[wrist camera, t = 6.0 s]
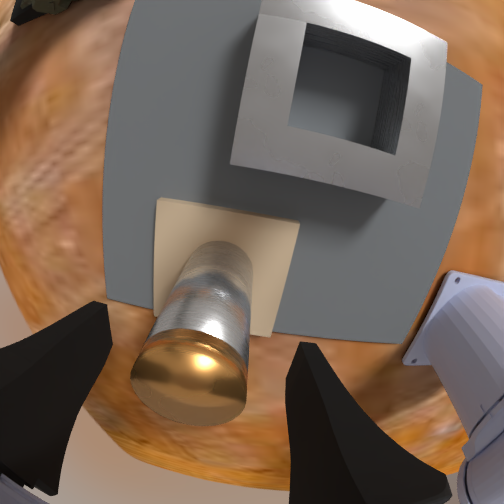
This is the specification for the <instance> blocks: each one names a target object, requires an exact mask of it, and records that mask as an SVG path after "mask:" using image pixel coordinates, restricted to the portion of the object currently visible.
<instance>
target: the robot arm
mask: <svg viewBox="0 0 504 504" xmlns="http://www.w3.org/2000/svg"><path fill="white" fill-rule="evenodd" d="M456 278H457V279H456ZM455 279H456V280H455ZM112 345H113V342H112V336H111V330H110V323H109V316H108V308H107V304H103V303H100V302H96V301H92V302H90V303H88V304H87V305H85V306H83V307H81V308H80V309H78V310H76V311H74V312H73V313H71V314H69V315H68V316H66V317H64V318H62V319H61V320H59V321H57V322H55V323H54V324H52V325H50V326H48V327H46V328H45V329H43V330H41V331H39V332H37V333H35V334H33V335H31V336H29V337H27V338H25V339H23V340H21V341H19V342H16V343H14V344H11V345H9V346H6V347H3V348H0V504H49V503H47V502H45V501H43V500H42V499H40V498H38V497H37V496H35V495H33V494H32V493H30V492H28V491H27V490H25V489H24V488H23V486H24V484H25V485H26V486H28V487H29V488H31V489H33V488H34V487H35V488H37V489H39V490H40V491H42V492H44V493H46V494H47V495H49V496H54V495H57V494H58V487H59V480H60V474H61V468H62V464H63V459H64V455H65V451H66V447H67V444H68V441H69V437H70V434H71V431H72V428H73V426H74V423H75V420H76V417H77V415H78V413H79V411H80V408H81V406H82V404H83V403H84V401H85V399H86V397H87V395H88V394H89V392H90V390H91V388H92V386H93V385H94V383H95V381H96V379H97V377H98V376H99V374H100V372H101V370H102V369H103V367H104V365H105V362H106V360H107V358H108V355H109V353H110V350H111V348H112ZM402 362H403V364H404V365H432V366H433V368H434V370H435V372H436V373H437V375H438V377H439V379H440V381H441V383H442V385H443V386H444V388H445V390H446V392H447V394H448V396H449V398H450V400H451V402H452V404H453V406H454V408H455V410H456V412H457V414H458V416H459V418H460V420H461V422H462V424H463V427H464V429H465V431H466V433H467V435H468V438H469V441H468V442H467V443H466V444H465V445H464V446H463V447H462V450H463V452H464V455H465V457H466V458H465V459H464V461H463V462H462V464H461V466H460V469H459V472H458V477H457V492H458V498H459V502H460V504H504V282H501V281H497V280H493V279H489V278H484V277H480V276H476V275H471V274H467V273H463V272H458V271H454V270H451V271H449V272H448V273H447V274H446V276H445V278H444V280H443V282H442V285H441V287H440V289H439V291H438V293H437V296H436V298H435V300H434V302H433V304H432V306H431V308H430V310H429V312H428V314H427V316H426V318H425V320H424V322H423V324H422V325H421V327H420V329H419V331H418V333H417V335H416V336H415V338H414V340H413V342H412V343H411V345H410V347H409V349H408V350H407V352H406V354H405V355H404V357H403V359H402ZM285 404H286V415H287V424H288V434H289V443H290V455H291V473H290V494H289V504H444V503H445V502H447V501H448V500H449V499H450V498H451V497H452V493H451V490H450V486H449V483H448V480H447V477H446V474H444V473H442V472H440V471H438V470H436V469H435V468H433V467H431V466H429V465H427V464H426V463H424V462H422V461H421V460H419V459H418V458H416V457H415V456H413V455H412V454H410V453H409V452H408V451H406V450H405V449H404V448H402V447H401V446H400V445H398V444H397V443H396V442H395V441H394V440H393V439H391V438H390V437H389V436H388V435H387V434H386V433H385V432H383V431H382V430H381V429H380V428H379V427H378V426H377V425H376V424H375V423H374V422H373V421H372V420H371V418H370V417H369V416H368V415H367V414H366V413H365V412H364V411H363V410H362V409H361V407H360V406H359V405H358V404H357V402H356V401H355V400H354V399H353V397H352V396H351V395H350V393H349V392H348V391H347V389H346V388H345V387H344V385H343V384H342V382H341V381H340V379H339V378H338V377H337V375H336V374H335V372H334V371H333V369H332V367H331V366H330V364H329V363H328V361H327V360H326V358H325V357H324V355H323V353H322V352H321V350H320V349H319V347H318V346H317V344H316V343H308V342H300V343H299V345H298V348H297V351H296V353H295V356H294V359H293V361H292V364H291V366H290V369H289V372H288V374H287V377H286V389H285Z"/></svg>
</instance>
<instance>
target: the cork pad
mask: <svg viewBox="0 0 504 504" xmlns="http://www.w3.org/2000/svg"><path fill="white" fill-rule="evenodd" d="M299 227H300V223H299V221H298V220H293V219H288V218H282V217H277V216H272V215H266V214H261V213H255V212H250V211H244V210H238V209H232V208H226V207H220V206H214V205H208V204H202V203H196V202H189V201H183V200H176V199H169V198H162V197H161V198H159V199H158V200H157V206H156V221H155V242H154V316H156V317H158V316H159V314H160V312H161V310H162V308H163V306H164V304H165V302H166V300H167V299H168V297H169V295H170V293H171V291H172V289H173V287H174V285H175V284H176V282H177V280H178V278H179V276H180V274H181V273H182V271H183V269H184V267H185V265H186V263H187V262H188V260H189V258H190V256H191V255H192V253H193V252H194V251H195V250H196V249H197V248H198V247H199V246H201V245H202V244H204V243H207V242H210V241H226V242H230V243H232V244H235V245H236V246H238V247H240V248H241V249H242V250H243V251H244V252H245V253H246V254H247V255H248V257H249V259H250V260H251V263H252V266H253V286H252V305H251V323H250V334H251V335H257V336H264V337H271V333H272V330H273V326H274V323H275V319H276V315H277V312H278V308H279V305H280V301H281V297H282V293H283V290H284V286H285V282H286V278H287V275H288V271H289V267H290V263H291V259H292V255H293V251H294V247H295V243H296V239H297V235H298V231H299Z"/></svg>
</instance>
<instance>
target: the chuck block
mask: <svg viewBox="0 0 504 504" xmlns="http://www.w3.org/2000/svg"><path fill="white" fill-rule="evenodd" d="M303 45H304V46H308V47H312V48H316V49H320V50H324V51H328V52H332V53H335V54H339V55H342V56H345V57H348V58H352V59H355V60H358V61H361V62H364V63H367V64H369V65H372V66H375V67H378V68H380V69H383V70H384V73H383V79H382V86H381V92H380V98H379V104H378V109H377V115H376V120H375V125H374V130H373V135H372V140H371V145H370V147H368V146H364V145H361V144H358V143H354V142H351V141H347V140H344V139H340V138H336V137H333V136H329V135H325V134H321V133H317V132H313V131H308V130H304V129H300V128H295V127H290V126H287V125H288V120H289V114H290V109H291V104H292V99H293V94H294V88H295V83H296V78H297V73H298V67H299V62H300V57H301V51H302V46H303ZM446 61H447V42H445V41H444V40H442V39H440V38H438V37H437V36H435V35H433V34H431V33H429V32H427V31H425V30H423V29H421V28H419V27H417V26H415V25H413V24H411V23H409V22H407V21H405V20H403V19H400V18H398V17H396V16H394V15H391V14H389V13H386V12H384V11H382V10H379V9H376V8H374V7H371V6H368V5H366V4H363V3H360V2H357V1H354V0H262V2H261V7H260V11H259V15H258V20H257V24H256V29H255V33H254V38H253V43H252V47H251V52H250V57H249V62H248V67H247V72H246V77H245V82H244V87H243V92H242V98H241V103H240V108H239V114H238V119H237V125H236V130H235V136H234V142H233V148H232V154H231V160H230V164H231V165H237V166H243V167H249V168H255V169H260V170H266V171H271V172H276V173H281V174H286V175H291V176H296V177H301V178H305V179H310V180H315V181H319V182H323V183H328V184H332V185H336V186H340V187H344V188H348V189H352V190H356V191H360V192H364V193H368V194H371V195H375V196H379V197H382V198H386V199H389V200H393V201H396V202H399V203H403V204H406V205H409V206H413V207H416V208H420V204H421V201H422V197H423V194H424V190H425V186H426V182H427V178H428V174H429V170H430V166H431V162H432V157H433V153H434V148H435V143H436V138H437V133H438V127H439V121H440V115H441V108H442V101H443V93H444V84H445V74H446Z"/></svg>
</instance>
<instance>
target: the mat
mask: <svg viewBox="0 0 504 504" xmlns="http://www.w3.org/2000/svg"><path fill="white" fill-rule="evenodd" d="M261 2H262V0H135V2H134V5H133V9H132V12H131V15H130V18H129V22H128V25H127V29H126V32H125V36H124V40H123V44H122V48H121V52H120V57H119V61H118V66H117V71H116V76H115V81H114V86H113V92H112V98H111V105H110V112H109V119H108V127H107V136H106V147H105V159H104V176H103V251H104V268H105V281H106V291H107V298H108V299H112V300H116V301H120V302H124V303H128V304H132V305H136V306H140V307H145V308H149V309H153V310H154V242H155V221H156V206H157V200H158V199H159V198H161V197H162V198H169V199H176V200H183V201H189V202H196V203H202V204H208V205H214V206H220V207H226V208H232V209H238V210H244V211H250V212H255V213H261V214H266V215H272V216H277V217H282V218H288V219H293V220H298V221H299V223H300V227H299V231H298V235H297V239H296V243H295V247H294V251H293V255H292V259H291V263H290V267H289V271H288V275H287V278H286V282H285V286H284V290H283V293H282V297H281V301H280V305H279V308H278V312H277V315H276V319H275V323H274V326H273V330H272V331H273V332H280V333H288V334H296V335H304V336H312V337H321V338H331V339H341V340H352V341H365V342H379V343H396V344H402V343H403V341H404V339H405V337H406V336H407V334H408V332H409V330H410V328H411V326H412V324H413V322H414V321H415V319H416V317H417V315H418V313H419V311H420V309H421V307H422V304H423V302H424V300H425V298H426V296H427V294H428V292H429V289H430V287H431V285H432V283H433V280H434V278H435V276H436V273H437V271H438V269H439V266H440V264H441V261H442V259H443V256H444V253H445V251H446V248H447V245H448V243H449V240H450V237H451V234H452V231H453V228H454V225H455V222H456V219H457V216H458V213H459V210H460V206H461V203H462V199H463V196H464V192H465V188H466V184H467V180H468V176H469V172H470V167H471V163H472V158H473V153H474V148H475V142H476V136H477V130H478V123H479V116H480V107H481V97H482V84H480V83H479V82H477V81H476V80H474V79H473V78H471V77H470V76H468V75H467V74H465V73H464V72H462V71H460V70H459V69H457V68H456V67H454V66H452V65H451V64H449V63H447V62H446V74H445V84H444V93H443V101H442V108H441V115H440V121H439V127H438V133H437V138H436V143H435V148H434V153H433V157H432V162H431V166H430V170H429V174H428V178H427V182H426V186H425V190H424V194H423V197H422V201H421V204H420V208H416V207H413V206H409V205H406V204H403V203H399V202H396V201H393V200H389V199H386V198H382V197H379V196H375V195H371V194H368V193H364V192H360V191H356V190H352V189H348V188H344V187H340V186H336V185H332V184H328V183H323V182H319V181H315V180H310V179H305V178H301V177H296V176H291V175H286V174H281V173H276V172H271V171H266V170H260V169H255V168H249V167H243V166H237V165H231V164H230V160H231V154H232V148H233V142H234V136H235V130H236V125H237V119H238V114H239V108H240V103H241V98H242V92H243V87H244V82H245V77H246V72H247V67H248V62H249V57H250V52H251V47H252V43H253V38H254V33H255V29H256V24H257V20H258V15H259V11H260V7H261ZM383 73H384V70H383V69H380V68H378V67H375V66H372V65H369V64H367V63H364V62H361V61H358V60H355V59H352V58H348V57H345V56H342V55H339V54H335V53H332V52H328V51H324V50H320V49H316V48H312V47H308V46H304V45H303V46H302V51H301V57H300V62H299V67H298V73H297V78H296V83H295V88H294V94H293V99H292V104H291V109H290V114H289V120H288V125H287V126H290V127H295V128H300V129H304V130H308V131H313V132H317V133H321V134H325V135H329V136H333V137H336V138H340V139H344V140H347V141H351V142H354V143H358V144H361V145H364V146H368V147H370V145H371V140H372V135H373V130H374V125H375V120H376V115H377V109H378V104H379V98H380V92H381V86H382V79H383Z"/></svg>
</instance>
